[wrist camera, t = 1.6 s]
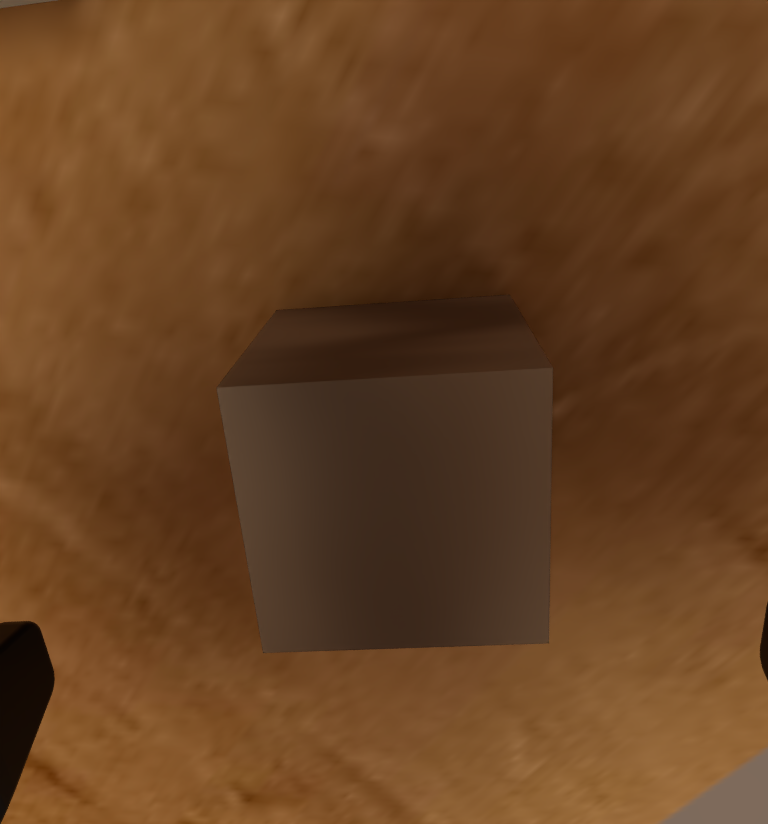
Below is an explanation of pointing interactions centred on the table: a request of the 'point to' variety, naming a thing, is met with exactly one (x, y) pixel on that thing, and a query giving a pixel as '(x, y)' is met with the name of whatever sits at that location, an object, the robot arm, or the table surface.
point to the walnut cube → (394, 475)
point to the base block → (20, 2)
